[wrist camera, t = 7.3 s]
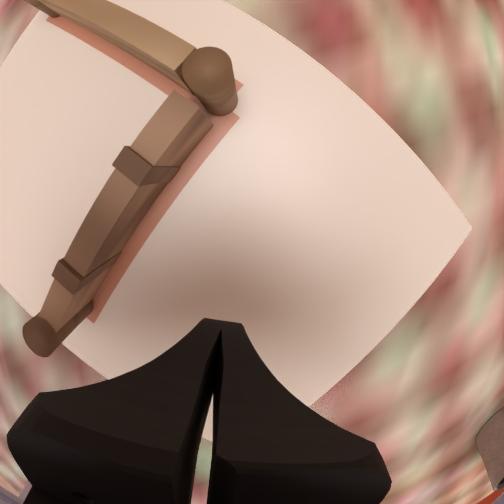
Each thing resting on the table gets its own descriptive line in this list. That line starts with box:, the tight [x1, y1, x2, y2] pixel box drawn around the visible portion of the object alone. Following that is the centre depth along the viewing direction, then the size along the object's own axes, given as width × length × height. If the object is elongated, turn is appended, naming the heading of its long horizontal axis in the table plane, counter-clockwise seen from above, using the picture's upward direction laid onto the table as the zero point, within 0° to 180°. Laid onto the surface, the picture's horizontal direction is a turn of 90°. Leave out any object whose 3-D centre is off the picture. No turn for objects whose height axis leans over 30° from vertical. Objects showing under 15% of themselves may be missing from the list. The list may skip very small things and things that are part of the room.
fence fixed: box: [25, 0, 238, 116], centre depth 8 cm, size 2×13×4 cm, turn 51°
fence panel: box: [23, 90, 213, 357], centre depth 10 cm, size 11×2×4 cm, turn 141°
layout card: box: [0, 0, 472, 442], centre depth 12 cm, size 19×26×1 cm
